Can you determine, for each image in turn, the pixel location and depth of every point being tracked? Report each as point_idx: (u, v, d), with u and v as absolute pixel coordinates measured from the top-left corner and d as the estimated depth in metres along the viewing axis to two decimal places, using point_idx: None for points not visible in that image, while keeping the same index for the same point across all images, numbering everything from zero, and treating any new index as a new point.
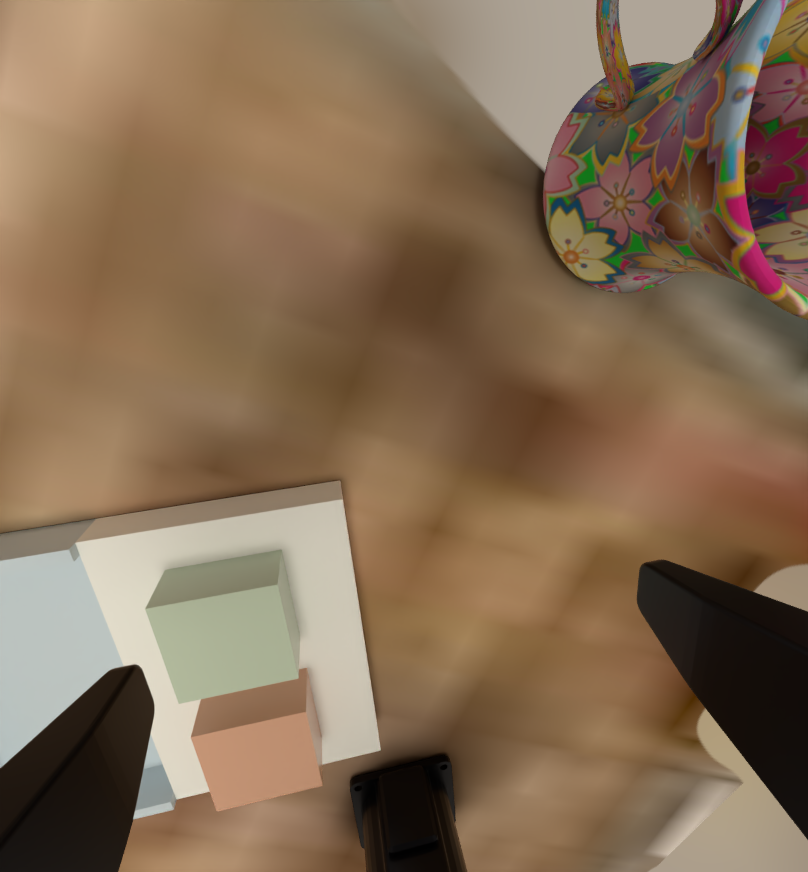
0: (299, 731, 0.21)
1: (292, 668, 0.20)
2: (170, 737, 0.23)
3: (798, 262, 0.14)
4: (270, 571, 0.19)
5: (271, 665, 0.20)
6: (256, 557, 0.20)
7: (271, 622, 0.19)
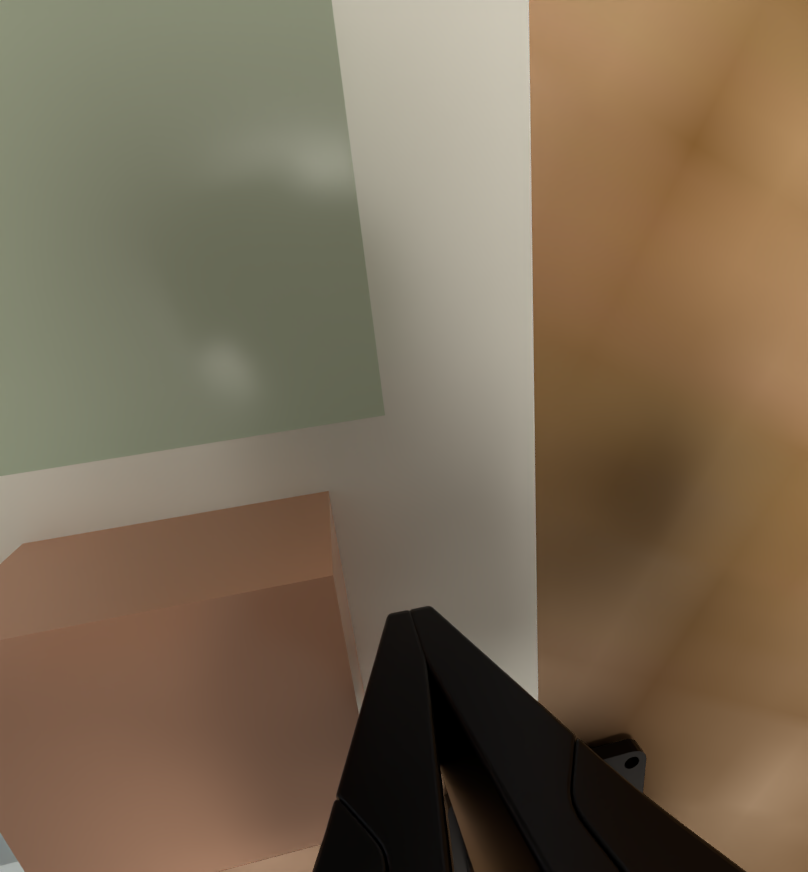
0: (311, 651, 0.06)
1: (365, 366, 0.05)
2: None
3: None
4: None
5: (281, 336, 0.05)
6: None
7: (279, 85, 0.04)
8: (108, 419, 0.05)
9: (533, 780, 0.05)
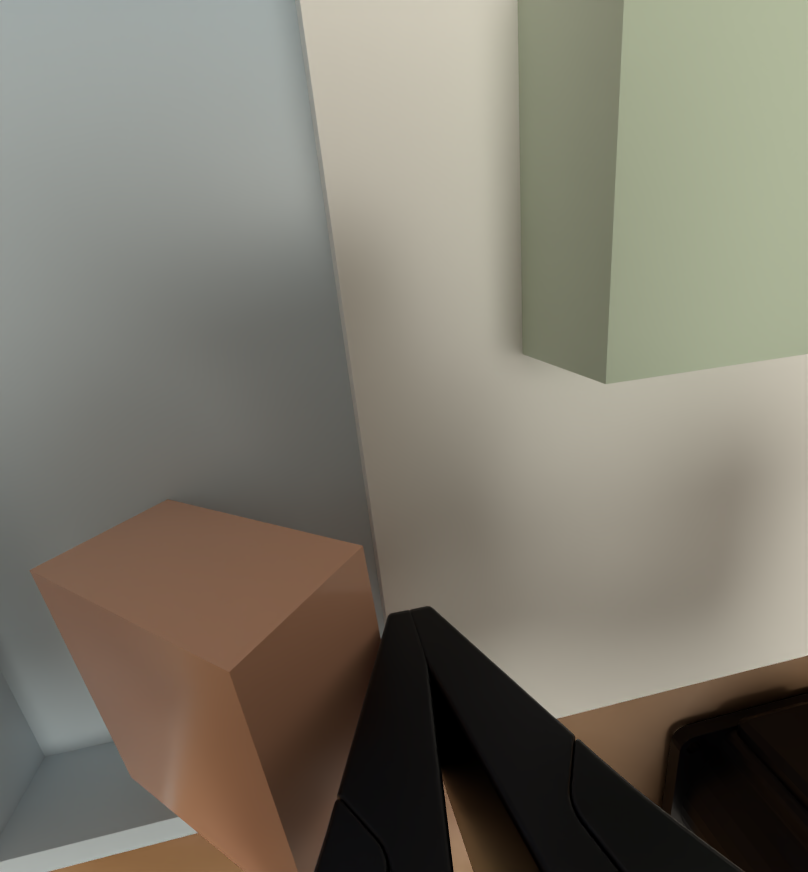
0: (228, 729, 0.06)
1: None
2: (423, 594, 0.09)
3: None
4: None
5: None
6: None
7: None
8: (759, 328, 0.06)
9: (532, 780, 0.05)
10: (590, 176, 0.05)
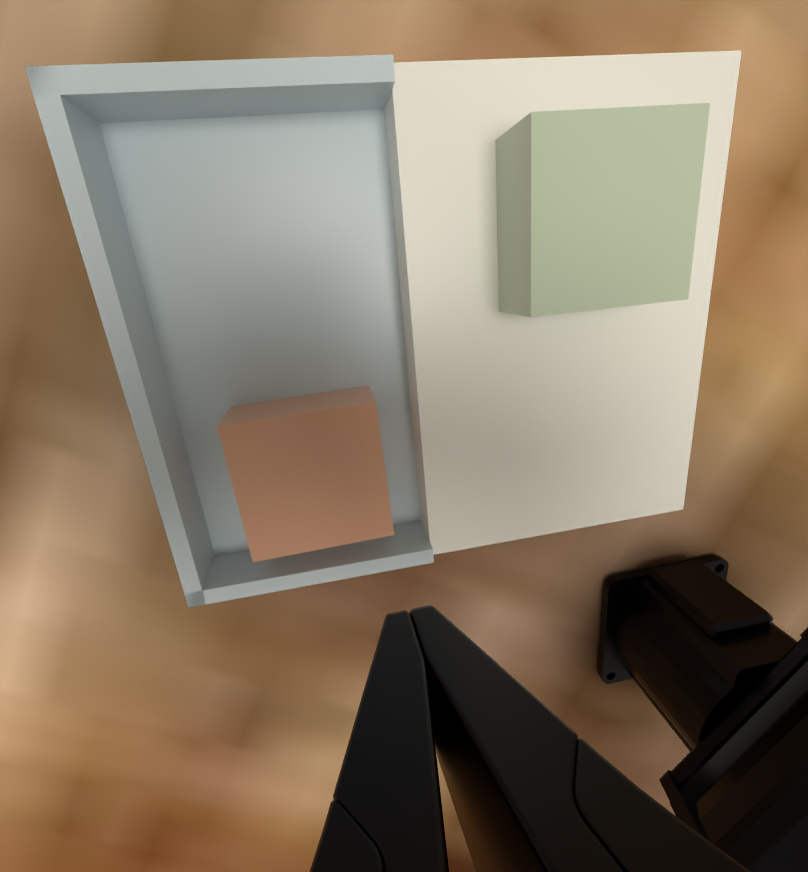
0: (366, 436, 0.15)
1: (686, 278, 0.14)
2: (444, 448, 0.17)
3: None
4: None
5: (661, 265, 0.13)
6: None
7: (683, 179, 0.13)
8: (600, 294, 0.13)
9: (535, 780, 0.05)
10: (523, 227, 0.13)
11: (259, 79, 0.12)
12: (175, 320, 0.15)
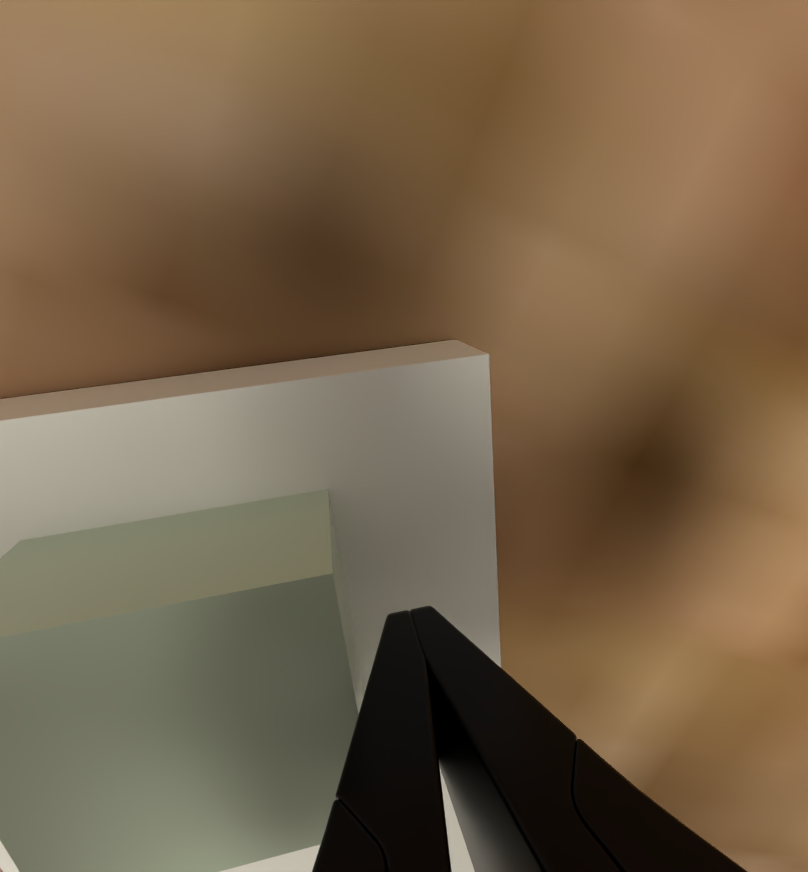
0: None
1: None
2: None
3: None
4: (305, 538, 0.07)
5: (307, 801, 0.07)
6: (264, 506, 0.08)
7: (311, 688, 0.06)
8: (188, 860, 0.07)
9: (533, 780, 0.05)
10: None
11: None
12: None
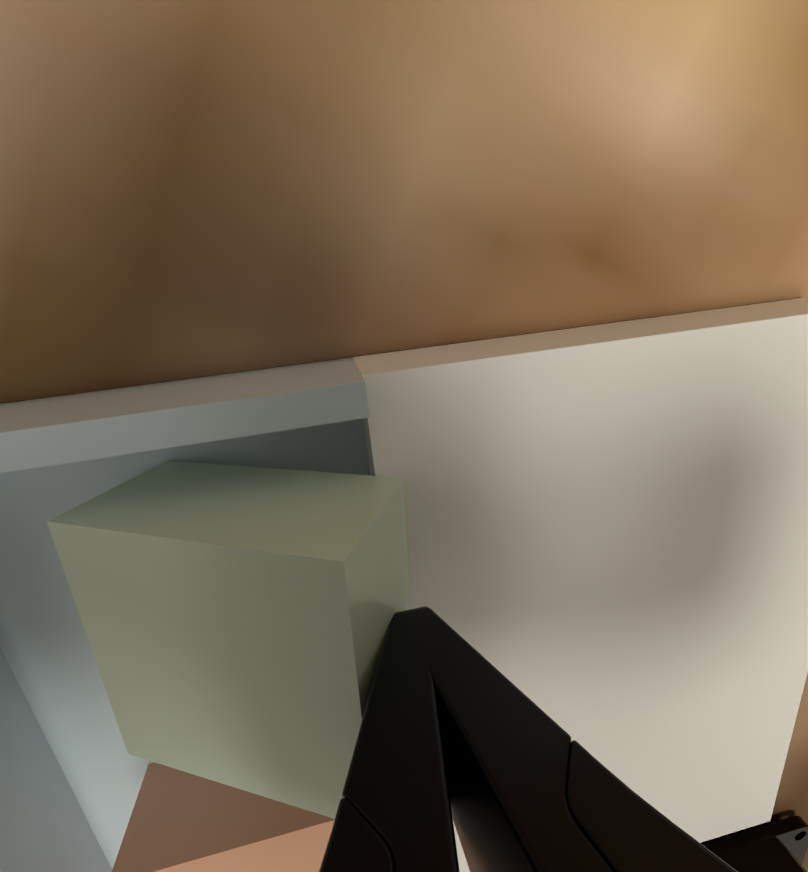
0: None
1: None
2: None
3: None
4: (348, 519, 0.07)
5: (311, 769, 0.07)
6: (338, 480, 0.08)
7: (318, 665, 0.06)
8: (217, 766, 0.08)
9: (528, 782, 0.05)
10: None
11: (136, 442, 0.07)
12: (55, 680, 0.10)
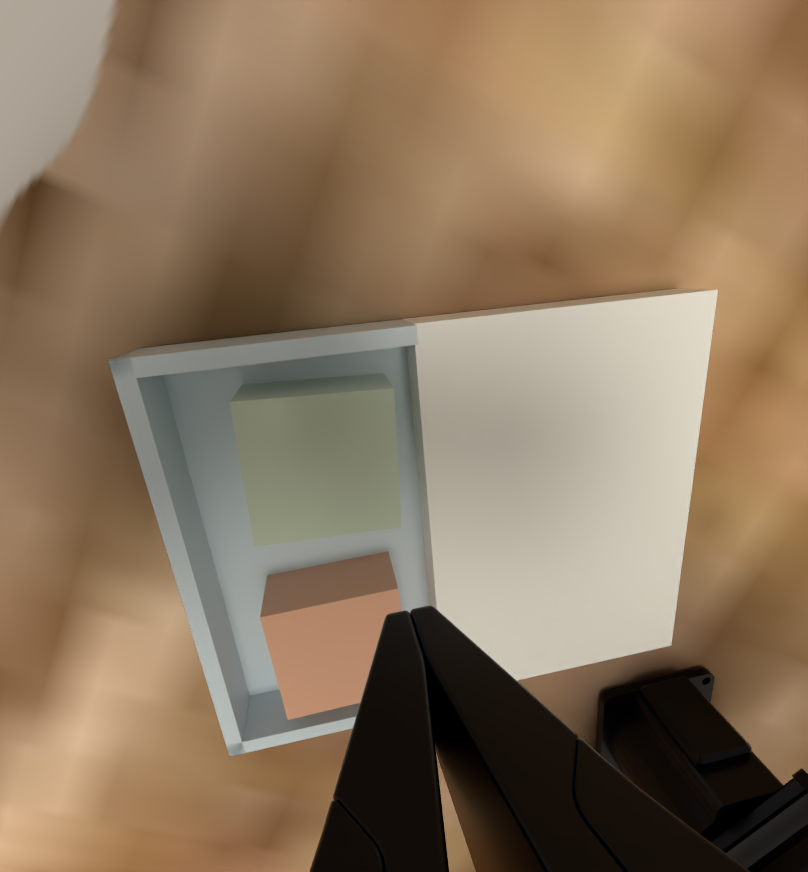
0: None
1: (396, 512, 0.16)
2: (456, 611, 0.19)
3: None
4: (378, 382, 0.15)
5: (371, 504, 0.16)
6: (354, 376, 0.16)
7: (379, 442, 0.15)
8: (317, 527, 0.16)
9: (535, 780, 0.05)
10: None
11: (303, 353, 0.14)
12: (220, 511, 0.18)
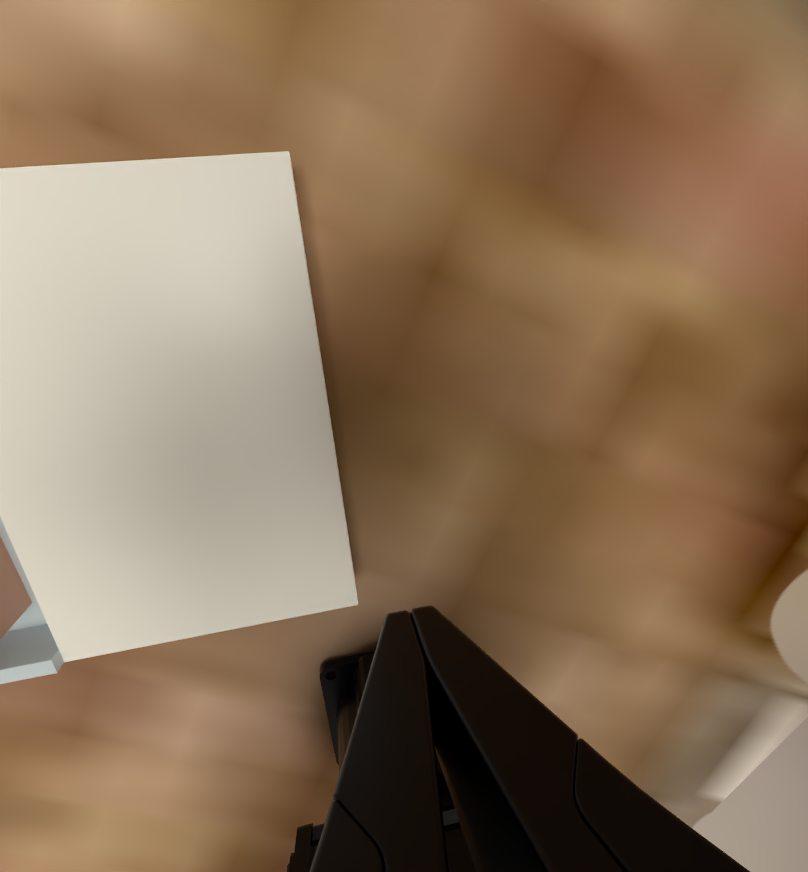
0: None
1: None
2: (46, 557, 0.16)
3: None
4: None
5: None
6: None
7: None
8: None
9: (535, 780, 0.05)
10: None
11: None
12: None
